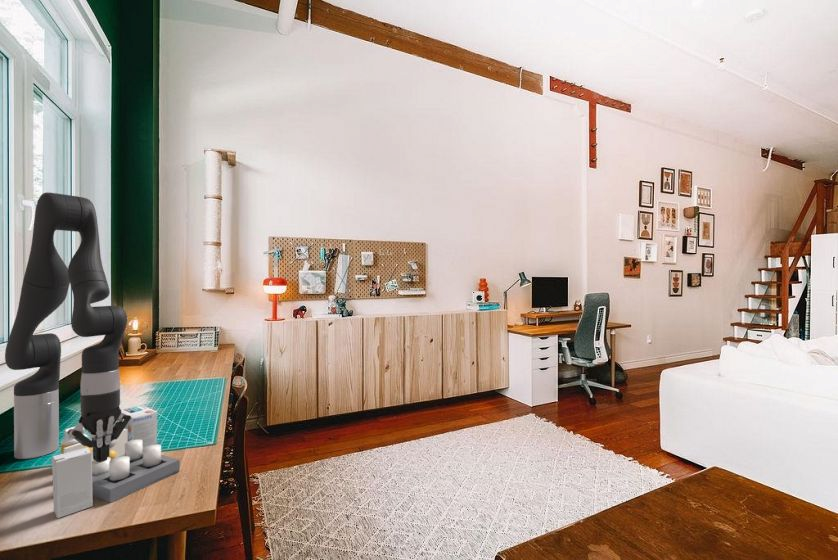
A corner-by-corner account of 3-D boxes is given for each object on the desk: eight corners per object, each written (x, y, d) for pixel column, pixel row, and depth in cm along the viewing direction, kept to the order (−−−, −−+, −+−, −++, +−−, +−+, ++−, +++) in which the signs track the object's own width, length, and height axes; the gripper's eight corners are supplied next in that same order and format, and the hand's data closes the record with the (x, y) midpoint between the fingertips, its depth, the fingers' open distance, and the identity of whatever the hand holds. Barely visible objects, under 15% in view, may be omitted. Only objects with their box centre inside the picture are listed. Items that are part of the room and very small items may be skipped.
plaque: (63, 480, 100) (63, 448, 100) (125, 457, 112) (125, 428, 112) (66, 481, 99) (66, 449, 99) (128, 458, 112) (128, 429, 112)
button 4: (139, 464, 101) (139, 449, 101) (154, 458, 105) (154, 443, 105) (149, 467, 100) (149, 452, 100) (164, 461, 103) (164, 446, 103)
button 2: (105, 478, 95) (105, 461, 95) (123, 471, 98) (123, 455, 98) (115, 481, 93) (115, 464, 93) (133, 474, 97) (133, 458, 96)
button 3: (121, 459, 105) (121, 443, 105) (136, 453, 108) (136, 438, 108) (130, 461, 103) (130, 446, 103) (145, 455, 106) (145, 441, 106)
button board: (70, 487, 97) (70, 474, 97) (140, 459, 111) (140, 448, 111) (110, 503, 90) (110, 489, 90) (179, 471, 105) (179, 459, 104)
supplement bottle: (72, 471, 104) (72, 433, 104) (55, 469, 106) (55, 431, 105) (93, 462, 110) (92, 425, 110) (76, 460, 111) (76, 424, 111)
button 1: (87, 478, 98) (87, 462, 98) (105, 471, 101) (105, 456, 101) (96, 482, 96) (96, 465, 96) (114, 474, 100) (114, 459, 100)
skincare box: (88, 500, 91) (88, 445, 91) (93, 507, 88) (93, 451, 88) (51, 512, 87) (51, 455, 86) (55, 520, 84) (55, 461, 84)
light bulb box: (116, 447, 119) (116, 410, 119) (142, 439, 125) (142, 404, 125) (131, 456, 113) (131, 417, 113) (158, 448, 119) (158, 411, 119)
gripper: (120, 381, 106) (121, 447, 106) (58, 394, 94) (59, 469, 94) (139, 384, 103) (139, 452, 103) (77, 398, 91) (77, 476, 91)
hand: (101, 460), depth 99 cm, fingers closed
